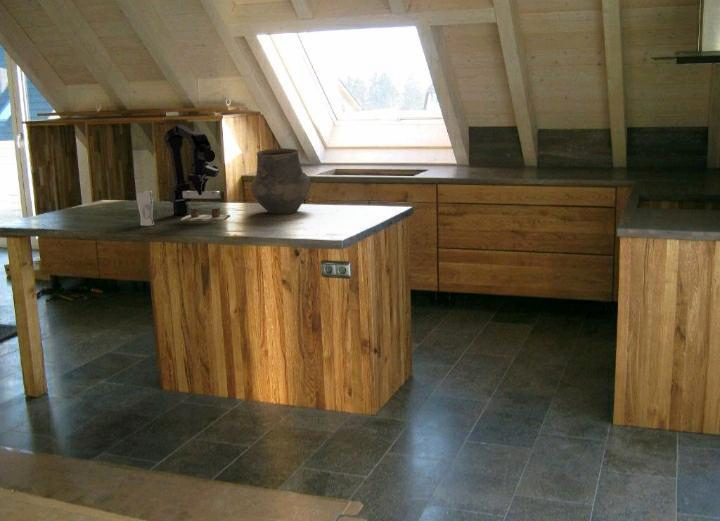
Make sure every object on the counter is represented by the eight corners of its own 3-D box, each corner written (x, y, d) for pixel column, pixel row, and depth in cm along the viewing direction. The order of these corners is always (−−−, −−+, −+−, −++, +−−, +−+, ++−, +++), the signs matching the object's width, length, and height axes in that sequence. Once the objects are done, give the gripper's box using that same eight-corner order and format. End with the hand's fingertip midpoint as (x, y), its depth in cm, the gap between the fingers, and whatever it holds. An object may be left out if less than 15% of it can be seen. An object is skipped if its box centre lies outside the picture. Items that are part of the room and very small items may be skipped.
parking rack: (181, 220, 383) (180, 210, 382) (189, 217, 394) (188, 206, 393) (222, 220, 380) (222, 209, 379) (230, 216, 390) (229, 206, 389)
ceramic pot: (315, 207, 411) (313, 146, 405) (306, 216, 384) (303, 151, 377) (259, 208, 414) (256, 148, 408) (246, 217, 387) (242, 153, 380)
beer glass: (136, 225, 375) (133, 192, 372) (150, 223, 380) (148, 190, 376) (143, 226, 370) (140, 193, 367) (157, 224, 374) (155, 191, 371)
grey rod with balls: (181, 198, 382) (181, 192, 381) (184, 197, 386) (184, 190, 385) (218, 198, 379) (218, 192, 378) (221, 197, 383) (221, 190, 382)
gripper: (209, 162, 368) (211, 197, 372) (222, 158, 386) (224, 191, 390) (185, 162, 370) (187, 197, 374) (200, 158, 388) (202, 191, 391)
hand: (201, 194), depth 382 cm, fingers closed on grey rod with balls, 3 cm apart
